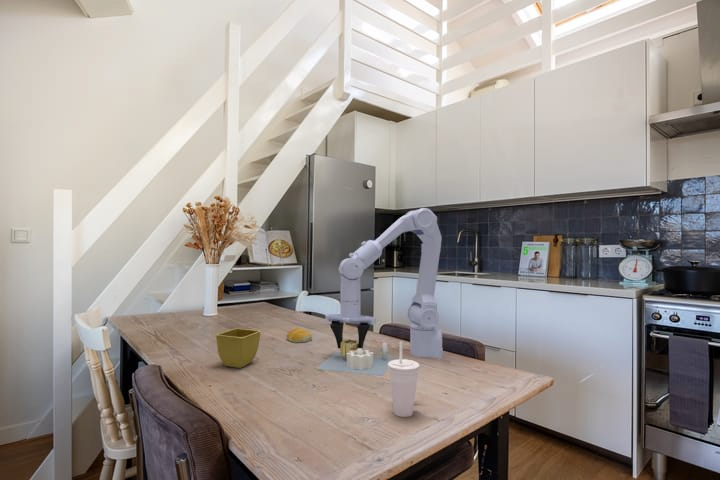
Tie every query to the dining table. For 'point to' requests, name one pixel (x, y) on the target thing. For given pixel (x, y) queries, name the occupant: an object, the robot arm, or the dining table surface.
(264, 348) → the dining table surface
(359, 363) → the gear
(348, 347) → the brass gear
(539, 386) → the dining table surface
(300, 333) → the bread roll
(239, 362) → the flower pot
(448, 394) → the dining table surface
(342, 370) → the gear board
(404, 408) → the smoothie
